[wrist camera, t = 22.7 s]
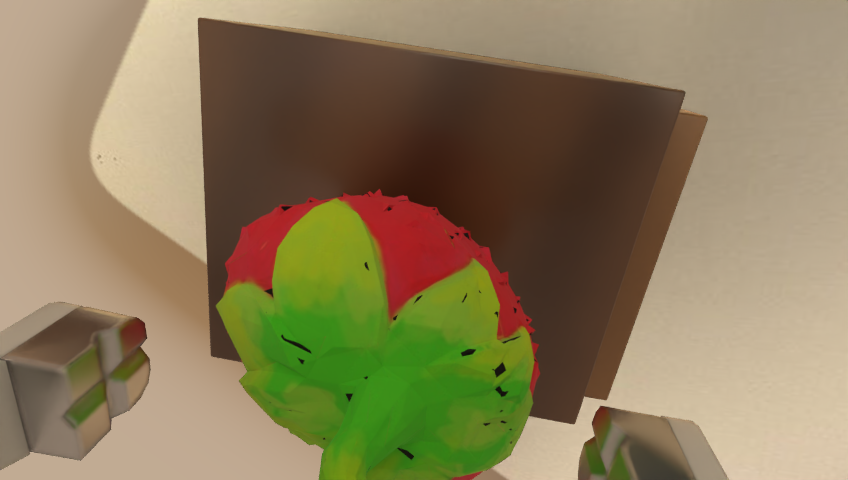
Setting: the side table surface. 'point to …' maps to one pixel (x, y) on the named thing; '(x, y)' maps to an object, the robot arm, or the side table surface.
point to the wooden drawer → (647, 249)
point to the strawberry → (381, 338)
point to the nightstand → (441, 165)
